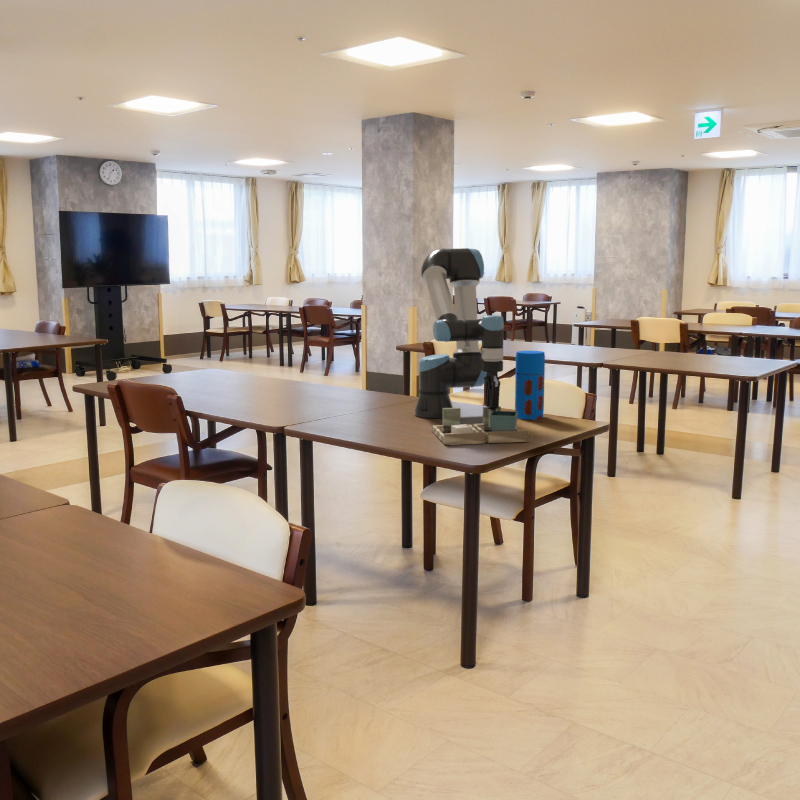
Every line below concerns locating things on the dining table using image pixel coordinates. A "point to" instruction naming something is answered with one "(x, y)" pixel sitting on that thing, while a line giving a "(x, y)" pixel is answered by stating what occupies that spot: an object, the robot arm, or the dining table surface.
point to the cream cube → (460, 429)
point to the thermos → (529, 384)
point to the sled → (453, 418)
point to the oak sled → (500, 435)
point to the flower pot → (503, 420)
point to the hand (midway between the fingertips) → (491, 426)
